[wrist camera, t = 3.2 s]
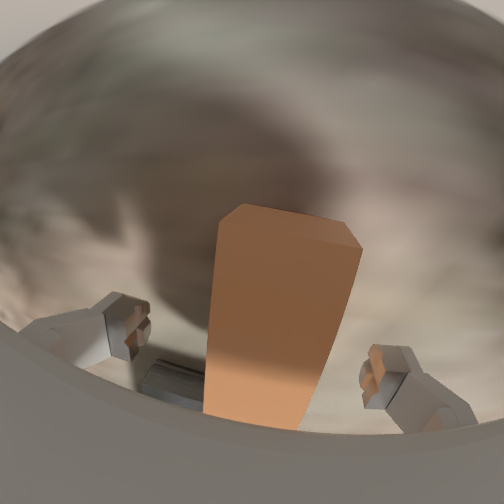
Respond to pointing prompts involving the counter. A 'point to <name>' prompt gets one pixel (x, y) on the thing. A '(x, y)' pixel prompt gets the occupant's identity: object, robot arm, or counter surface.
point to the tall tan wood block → (274, 312)
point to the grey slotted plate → (175, 385)
